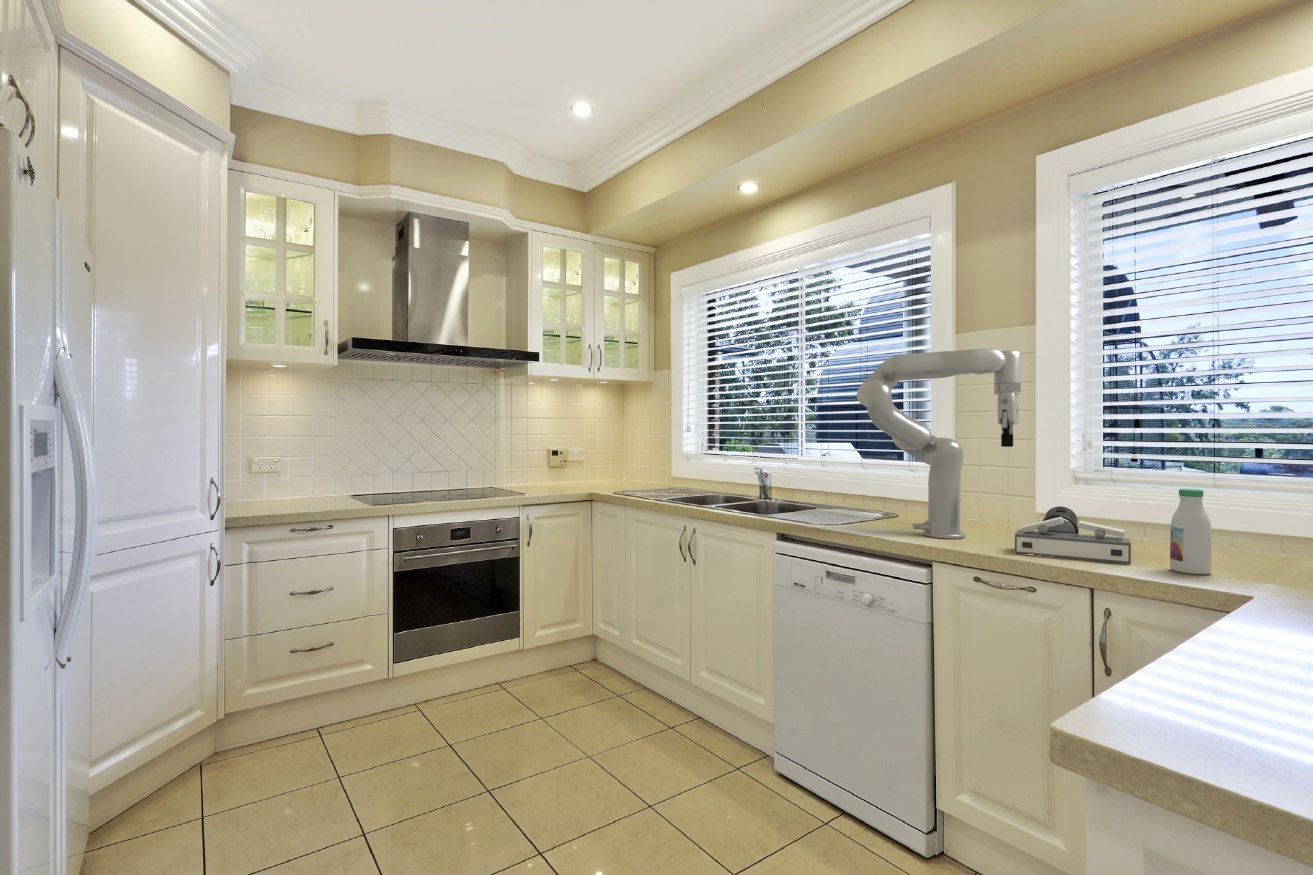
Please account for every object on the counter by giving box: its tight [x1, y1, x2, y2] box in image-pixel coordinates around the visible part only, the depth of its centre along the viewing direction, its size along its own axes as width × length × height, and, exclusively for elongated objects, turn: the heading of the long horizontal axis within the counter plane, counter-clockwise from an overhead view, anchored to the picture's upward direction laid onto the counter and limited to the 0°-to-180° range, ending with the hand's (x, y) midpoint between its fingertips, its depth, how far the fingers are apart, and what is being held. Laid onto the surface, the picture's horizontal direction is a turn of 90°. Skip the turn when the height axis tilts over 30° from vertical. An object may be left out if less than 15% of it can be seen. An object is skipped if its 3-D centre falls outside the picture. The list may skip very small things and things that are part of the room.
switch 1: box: [1020, 517, 1064, 533], centre depth 181 cm, size 10×5×3 cm, turn 56°
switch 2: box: [1078, 520, 1125, 538], centre depth 174 cm, size 10×5×3 cm, turn 56°
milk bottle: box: [1169, 488, 1212, 575], centre depth 158 cm, size 8×8×20 cm
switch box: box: [1014, 529, 1132, 565], centre depth 177 cm, size 26×9×6 cm, turn 56°
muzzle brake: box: [1042, 505, 1080, 534], centre depth 195 cm, size 10×28×10 cm, turn 147°
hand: (1007, 446), depth 209 cm, fingers closed
